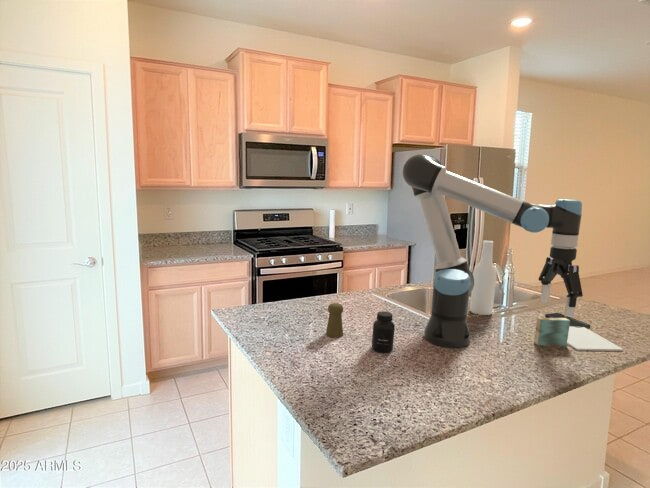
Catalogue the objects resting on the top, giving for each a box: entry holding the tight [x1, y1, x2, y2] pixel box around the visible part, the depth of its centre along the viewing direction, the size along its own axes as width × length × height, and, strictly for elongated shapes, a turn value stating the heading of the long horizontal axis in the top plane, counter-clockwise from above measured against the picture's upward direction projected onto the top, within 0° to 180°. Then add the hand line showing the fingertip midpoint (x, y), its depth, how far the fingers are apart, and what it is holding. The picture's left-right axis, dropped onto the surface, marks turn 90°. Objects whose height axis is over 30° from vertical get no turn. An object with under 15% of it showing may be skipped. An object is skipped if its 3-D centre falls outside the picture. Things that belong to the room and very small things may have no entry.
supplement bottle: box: [371, 310, 396, 354], centre depth 131 cm, size 7×7×12 cm
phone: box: [544, 312, 591, 329], centre depth 164 cm, size 8×1×15 cm
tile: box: [533, 317, 570, 347], centre depth 140 cm, size 10×2×9 cm, turn 93°
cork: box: [325, 302, 344, 339], centre depth 142 cm, size 6×6×11 cm
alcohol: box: [469, 239, 498, 316], centre depth 168 cm, size 9×9×30 cm
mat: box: [567, 326, 624, 352], centre depth 147 cm, size 16×20×1 cm
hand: (556, 309), depth 139 cm, fingers open, 13 cm apart
